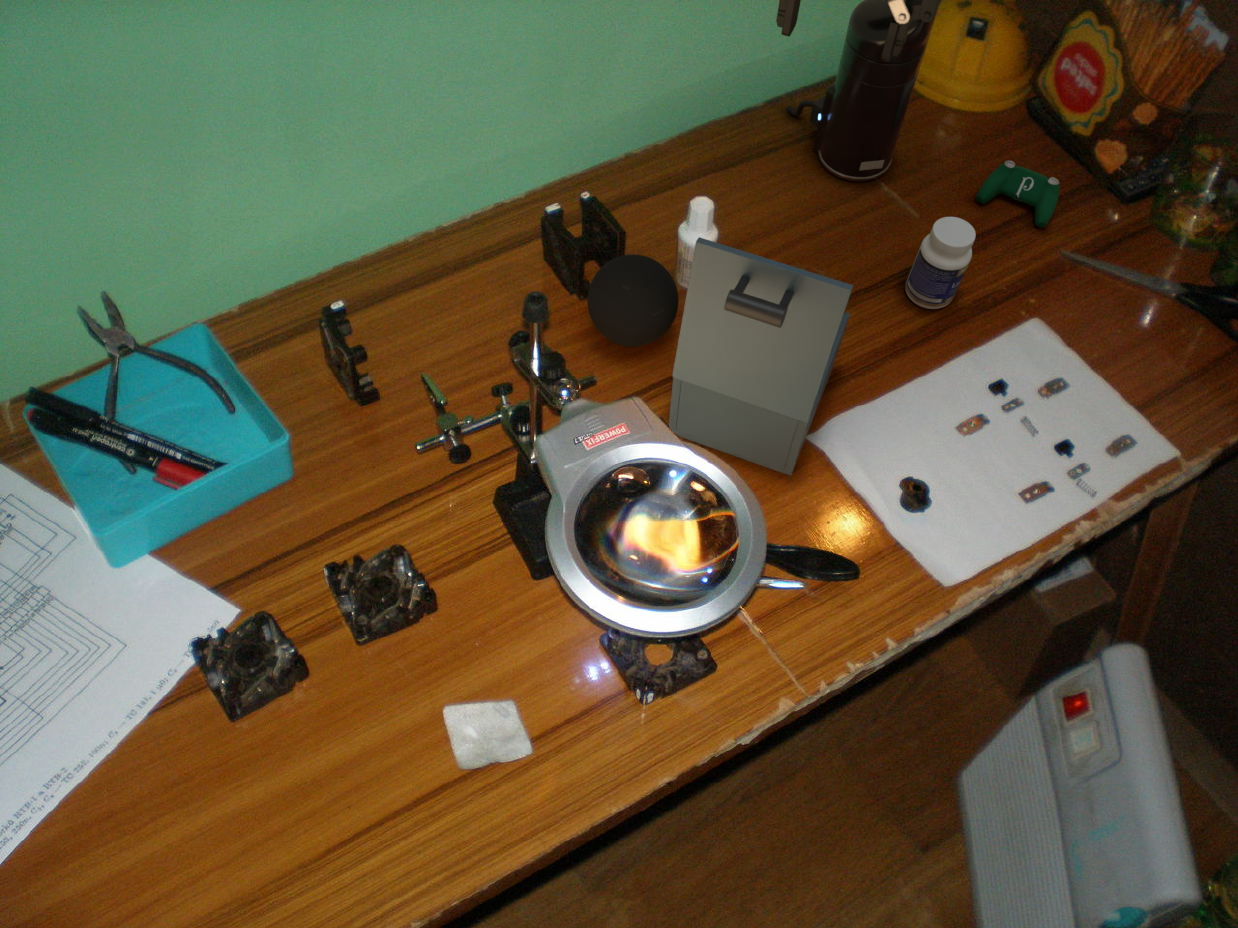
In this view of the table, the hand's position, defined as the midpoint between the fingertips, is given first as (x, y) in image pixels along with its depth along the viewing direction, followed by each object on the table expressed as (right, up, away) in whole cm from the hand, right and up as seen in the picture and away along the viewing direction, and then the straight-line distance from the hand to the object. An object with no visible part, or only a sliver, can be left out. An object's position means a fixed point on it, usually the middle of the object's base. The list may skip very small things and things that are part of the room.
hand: (837, 43), depth 82 cm
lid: (-6, -23, +7) cm, 25 cm away
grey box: (-4, -28, +25) cm, 38 cm away
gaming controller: (+32, -3, +41) cm, 52 cm away
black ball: (-17, -20, +30) cm, 40 cm away
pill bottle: (+18, -15, +34) cm, 41 cm away
